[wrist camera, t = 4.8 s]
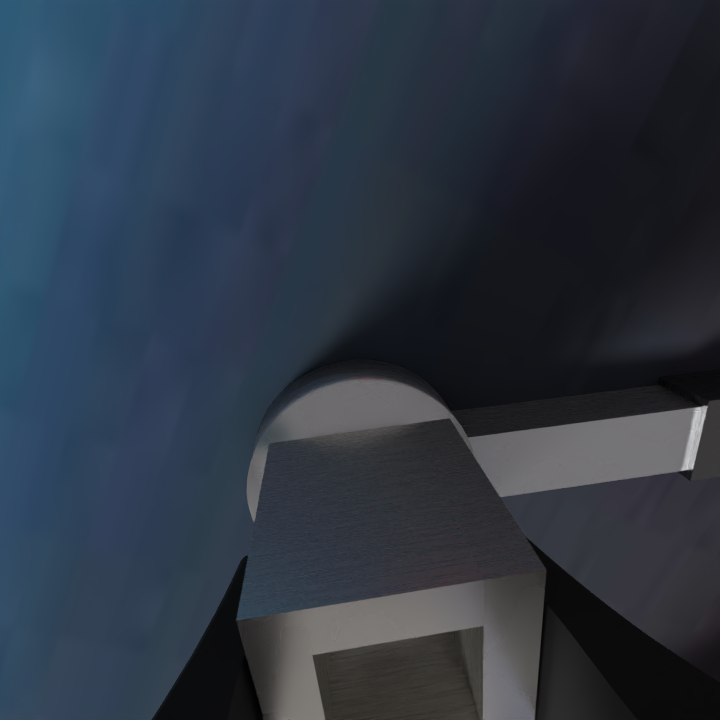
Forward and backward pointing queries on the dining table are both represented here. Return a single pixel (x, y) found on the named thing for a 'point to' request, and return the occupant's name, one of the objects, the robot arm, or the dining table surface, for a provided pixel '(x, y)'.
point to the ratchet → (513, 426)
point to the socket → (389, 583)
